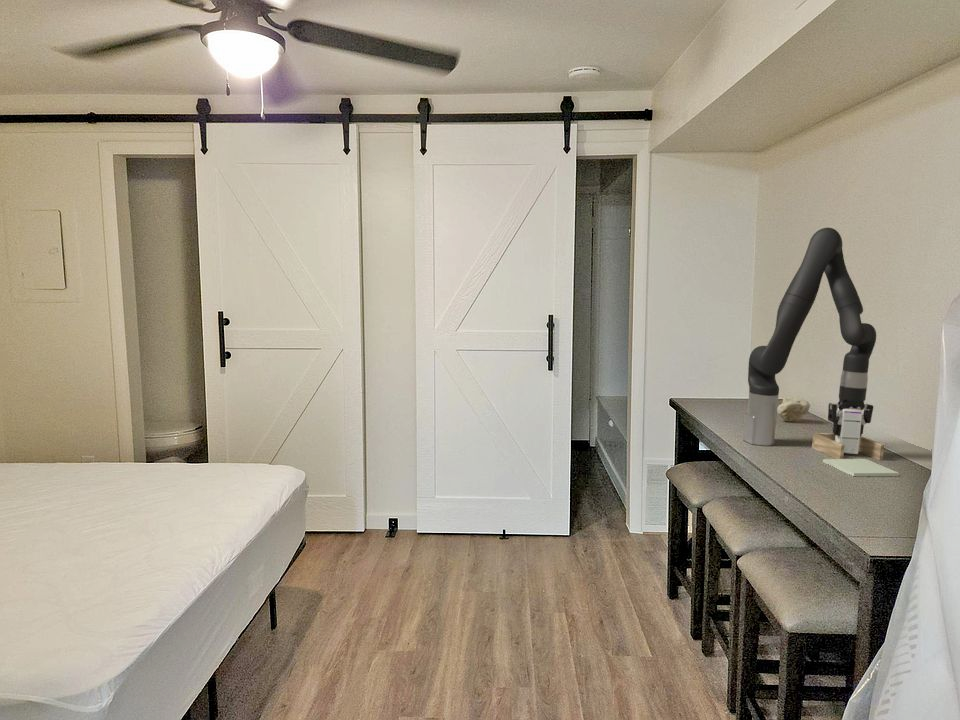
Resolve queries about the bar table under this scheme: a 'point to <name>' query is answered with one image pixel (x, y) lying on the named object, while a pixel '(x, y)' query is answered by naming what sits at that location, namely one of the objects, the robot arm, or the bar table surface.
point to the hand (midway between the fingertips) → (847, 435)
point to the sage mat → (860, 467)
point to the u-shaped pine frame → (836, 449)
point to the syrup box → (850, 430)
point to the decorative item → (793, 409)
